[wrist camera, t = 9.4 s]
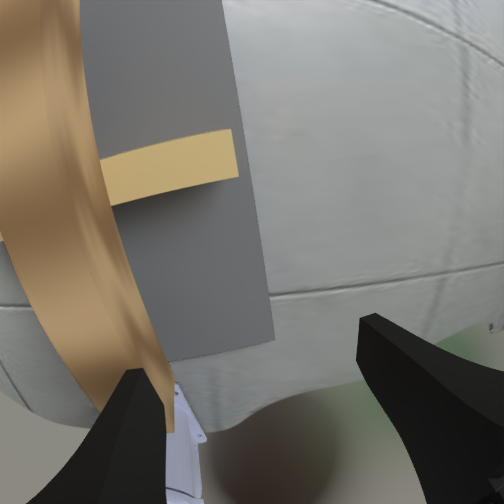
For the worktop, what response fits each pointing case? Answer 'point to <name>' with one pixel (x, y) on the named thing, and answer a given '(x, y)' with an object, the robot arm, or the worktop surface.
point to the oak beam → (67, 207)
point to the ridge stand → (177, 170)
